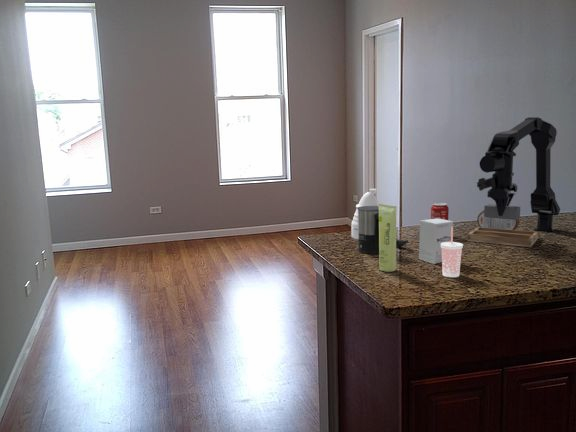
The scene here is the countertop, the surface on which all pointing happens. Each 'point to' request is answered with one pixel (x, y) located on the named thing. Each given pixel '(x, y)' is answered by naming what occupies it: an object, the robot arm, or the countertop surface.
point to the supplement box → (433, 239)
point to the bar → (509, 213)
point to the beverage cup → (451, 257)
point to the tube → (387, 238)
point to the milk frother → (370, 230)
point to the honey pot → (366, 200)
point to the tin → (496, 222)
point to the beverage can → (439, 211)
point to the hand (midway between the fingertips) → (501, 214)
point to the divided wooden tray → (503, 236)
